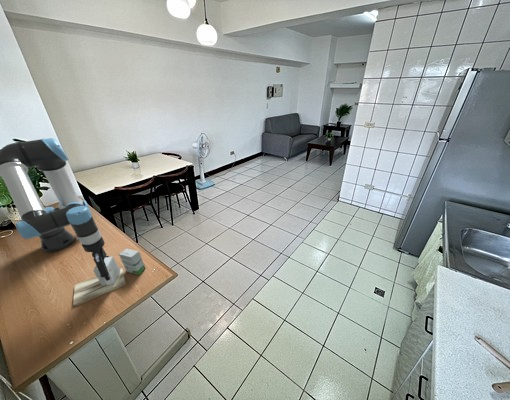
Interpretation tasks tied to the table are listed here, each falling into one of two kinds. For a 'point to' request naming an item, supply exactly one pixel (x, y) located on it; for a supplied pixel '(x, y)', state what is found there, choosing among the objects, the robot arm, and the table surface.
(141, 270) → the ink box
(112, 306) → the table surface
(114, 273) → the small box
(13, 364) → the table surface
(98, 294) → the board
